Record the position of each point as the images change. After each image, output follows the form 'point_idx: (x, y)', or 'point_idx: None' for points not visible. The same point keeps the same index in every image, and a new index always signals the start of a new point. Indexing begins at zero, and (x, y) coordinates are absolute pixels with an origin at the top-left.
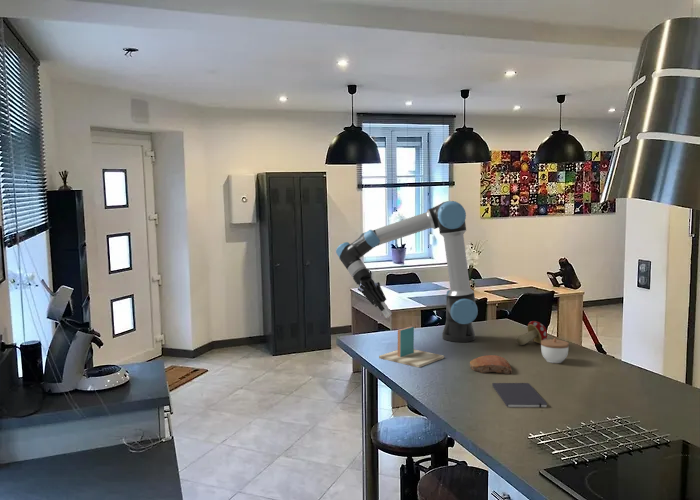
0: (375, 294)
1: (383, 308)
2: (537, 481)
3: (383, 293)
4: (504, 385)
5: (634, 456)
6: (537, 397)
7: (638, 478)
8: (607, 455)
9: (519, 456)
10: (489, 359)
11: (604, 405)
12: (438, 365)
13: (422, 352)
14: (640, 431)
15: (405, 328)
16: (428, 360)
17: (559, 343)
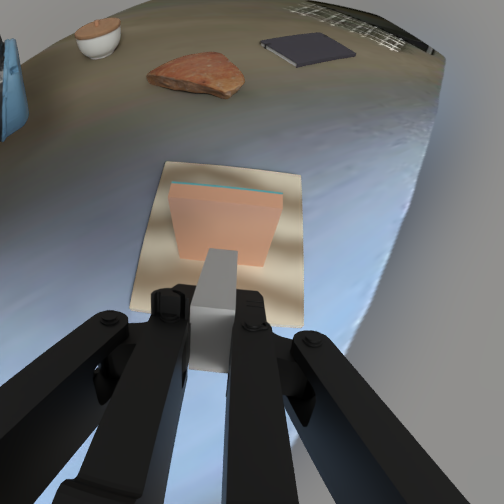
0: (242, 408)
1: (248, 292)
2: (439, 57)
3: (34, 362)
4: (295, 54)
5: (360, 18)
6: (308, 36)
7: (386, 24)
8: (374, 26)
9: (427, 59)
10: (210, 63)
11: (270, 13)
12: (246, 151)
13: (163, 222)
14: (313, 9)
15: (228, 194)
16: (242, 172)
17: (105, 21)
